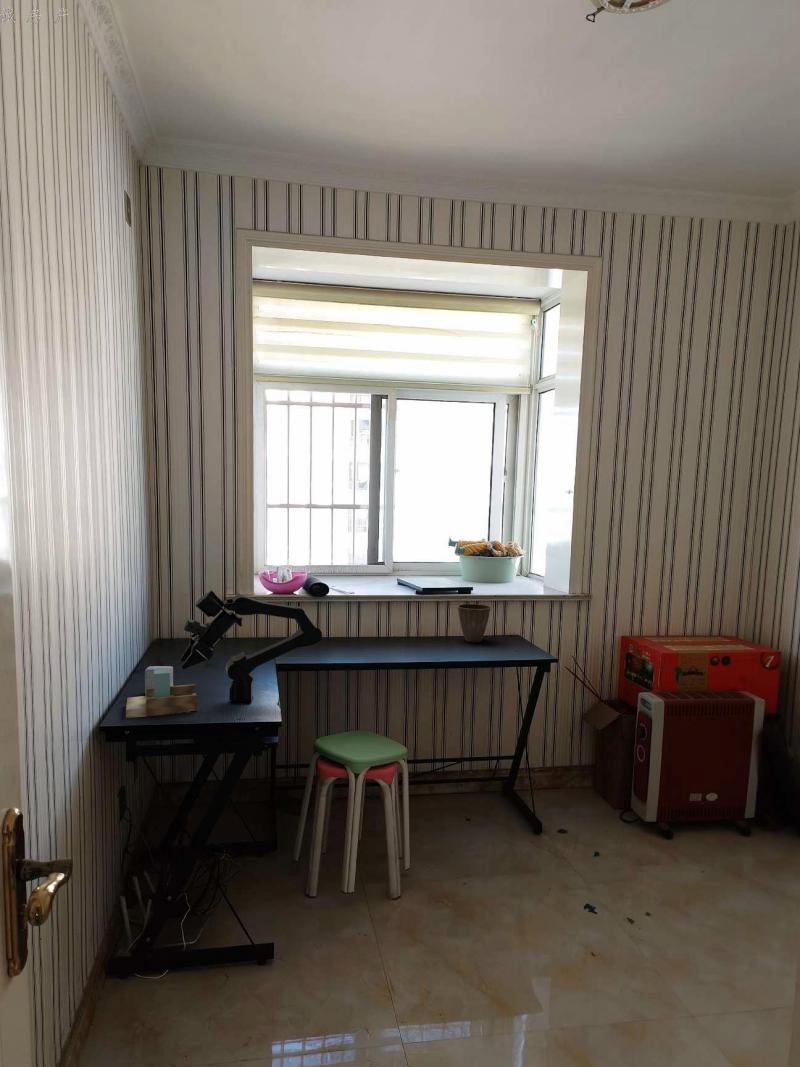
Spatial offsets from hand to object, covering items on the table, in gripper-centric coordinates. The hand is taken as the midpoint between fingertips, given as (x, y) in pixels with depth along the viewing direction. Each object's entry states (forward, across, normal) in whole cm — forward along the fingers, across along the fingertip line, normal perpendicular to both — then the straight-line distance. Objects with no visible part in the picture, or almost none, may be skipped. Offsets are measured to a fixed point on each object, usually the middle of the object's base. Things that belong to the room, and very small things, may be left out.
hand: (181, 664), depth 203 cm
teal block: (+12, 0, +4) cm, 12 cm away
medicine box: (+14, -16, +5) cm, 22 cm away
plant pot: (-82, -58, +102) cm, 143 cm away
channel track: (+14, 0, +5) cm, 15 cm away
